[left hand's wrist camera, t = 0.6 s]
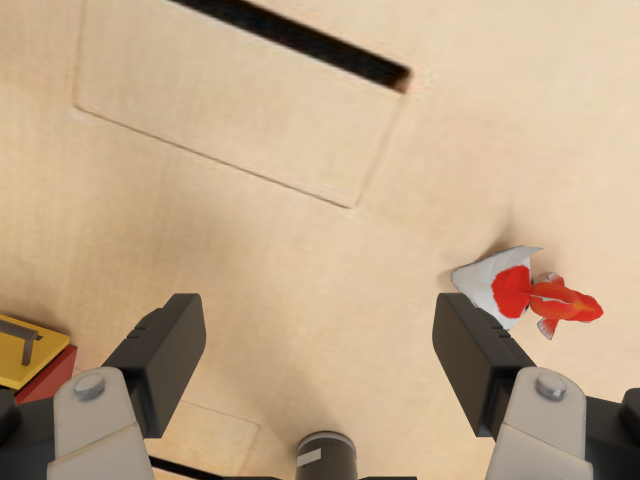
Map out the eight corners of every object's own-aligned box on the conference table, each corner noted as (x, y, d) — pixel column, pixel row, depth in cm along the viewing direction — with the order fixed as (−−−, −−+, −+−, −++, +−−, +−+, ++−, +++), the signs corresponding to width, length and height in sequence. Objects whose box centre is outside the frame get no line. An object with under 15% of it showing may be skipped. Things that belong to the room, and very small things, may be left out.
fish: (546, 368, 42) (591, 390, 32) (431, 299, 46) (440, 301, 37) (590, 293, 42) (647, 294, 33) (471, 232, 46) (491, 216, 37)
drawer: (-1, 280, 42) (-72, 318, 34) (76, 306, 43) (24, 347, 36) (-13, 403, 49) (-74, 456, 41) (54, 421, 50) (6, 477, 43)
